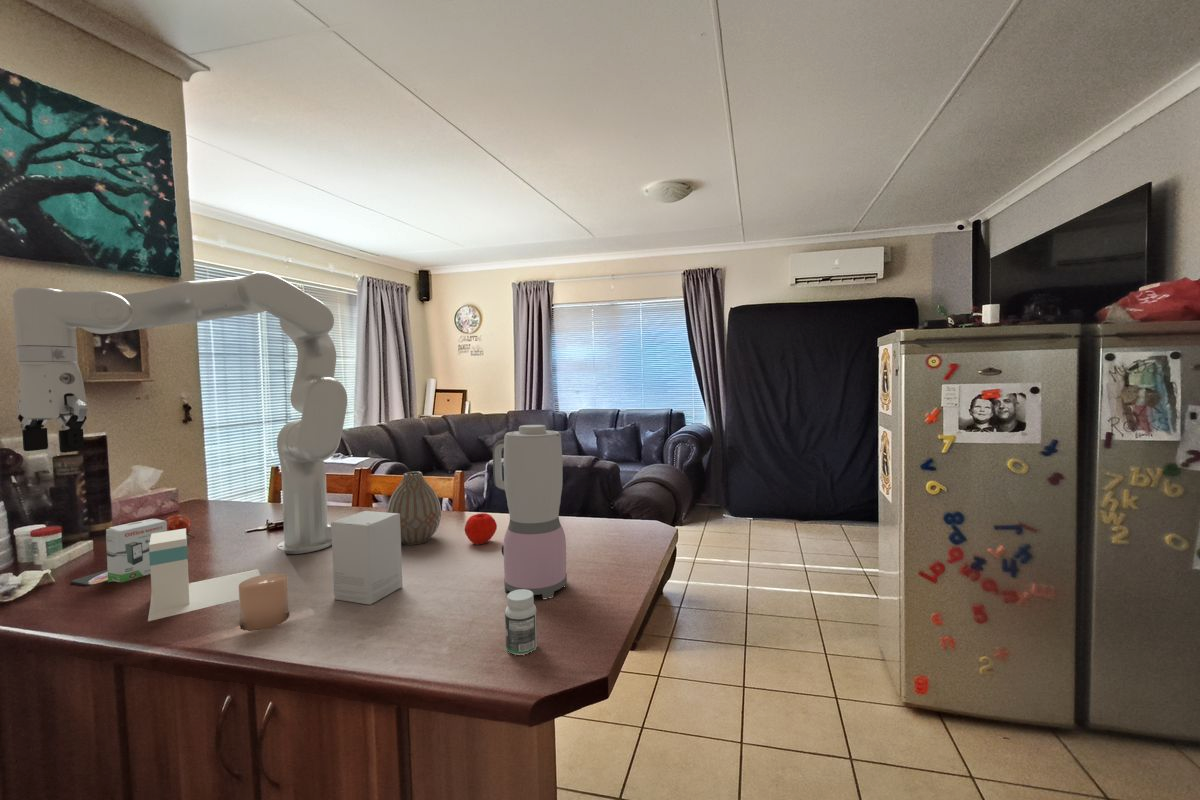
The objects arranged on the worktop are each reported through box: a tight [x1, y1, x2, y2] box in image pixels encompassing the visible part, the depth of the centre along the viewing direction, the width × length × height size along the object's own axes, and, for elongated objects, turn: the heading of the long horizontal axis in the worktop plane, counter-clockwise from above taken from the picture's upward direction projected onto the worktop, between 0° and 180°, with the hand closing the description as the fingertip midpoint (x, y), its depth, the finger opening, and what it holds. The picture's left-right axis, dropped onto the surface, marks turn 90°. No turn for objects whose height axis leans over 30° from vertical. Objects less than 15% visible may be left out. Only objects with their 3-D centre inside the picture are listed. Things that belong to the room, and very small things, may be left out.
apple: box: [464, 512, 498, 545], centre depth 127 cm, size 8×8×7 cm
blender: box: [492, 424, 568, 598], centre depth 100 cm, size 16×12×32 cm
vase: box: [386, 471, 442, 546], centre depth 129 cm, size 13×13×18 cm
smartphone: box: [70, 569, 109, 587], centre depth 111 cm, size 8×1×15 cm
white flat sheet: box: [147, 568, 261, 622], centre depth 97 cm, size 17×16×1 cm
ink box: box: [105, 518, 167, 583], centre depth 107 cm, size 9×5×12 cm, turn 158°
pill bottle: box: [504, 589, 538, 654], centre depth 77 cm, size 5×5×8 cm
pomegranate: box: [163, 514, 196, 539], centre depth 131 cm, size 7×7×10 cm
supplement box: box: [330, 510, 403, 605], centre depth 98 cm, size 9×9×15 cm
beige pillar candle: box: [238, 573, 290, 632], centre depth 87 cm, size 7×7×7 cm
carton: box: [149, 528, 190, 612], centre depth 93 cm, size 5×8×12 cm, turn 39°
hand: (54, 450), depth 93 cm, fingers open, 9 cm apart
